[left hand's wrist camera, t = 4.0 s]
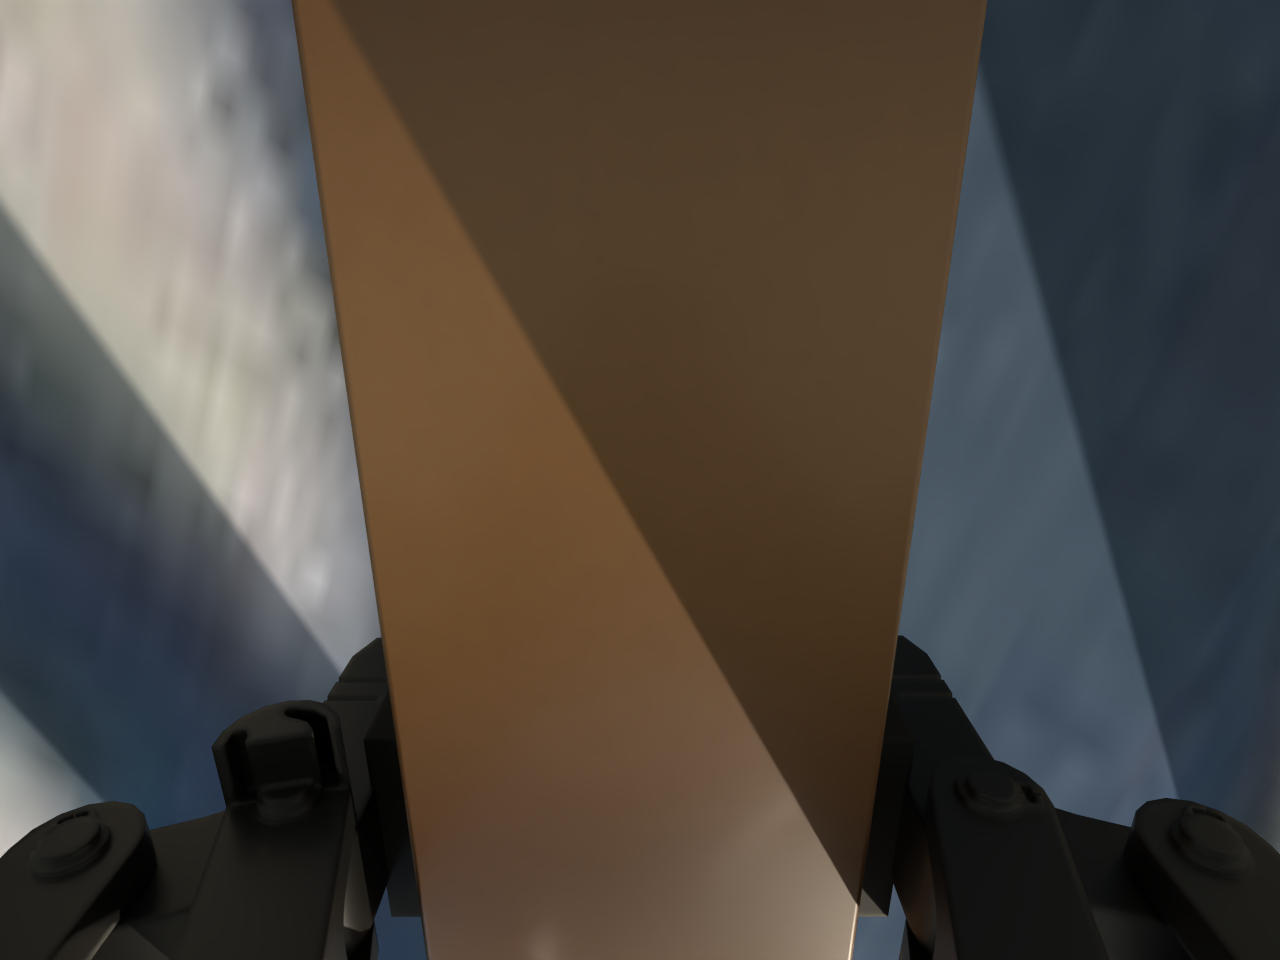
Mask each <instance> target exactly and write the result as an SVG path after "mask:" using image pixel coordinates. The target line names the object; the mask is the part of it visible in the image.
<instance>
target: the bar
mask: <svg viewBox="0 0 1280 960" xmlns="http://www.w3.org/2000/svg"><path fill="white" fill-rule="evenodd" d="M987 1H988V0H291V2H292V9H293V16H294V23H295V30H296V37H297V44H298V51H299V58H300V65H301V72H302V80H303V87H304V94H305V101H306V108H307V115H308V122H309V129H310V136H311V143H312V150H313V157H314V164H315V171H316V178H317V185H318V193H319V200H320V207H321V214H322V221H323V228H324V235H325V242H326V249H327V256H328V263H329V270H330V277H331V284H332V291H333V298H334V306H335V313H336V320H337V327H338V334H339V341H340V348H341V355H342V362H343V369H344V376H345V383H346V390H347V397H348V404H349V411H350V419H351V426H352V433H353V440H354V447H355V454H356V461H357V468H358V475H359V482H360V489H361V496H362V503H363V510H364V517H365V525H366V532H367V539H368V546H369V553H370V560H371V567H372V574H373V581H374V588H375V595H376V602H377V609H378V616H379V623H380V630H381V638H382V645H383V652H384V659H385V666H386V673H387V680H388V687H389V694H390V701H391V708H392V715H393V722H394V729H395V736H396V743H397V751H398V758H399V765H400V772H401V779H402V786H403V793H404V800H405V807H406V814H407V821H408V828H409V835H410V842H411V849H412V856H413V864H414V871H415V878H416V885H417V892H418V899H419V906H420V913H421V920H422V927H423V934H424V941H425V948H426V955H427V960H852V957H853V950H854V943H855V935H856V928H857V921H858V914H859V907H860V900H861V893H862V886H863V879H864V872H865V865H866V858H867V850H868V843H869V836H870V829H871V822H872V815H873V808H874V801H875V794H876V787H877V780H878V773H879V765H880V758H881V751H882V744H883V737H884V730H885V723H886V716H887V709H888V702H889V695H890V688H891V680H892V673H893V666H894V659H895V652H896V645H897V638H898V631H899V624H900V617H901V610H902V603H903V596H904V588H905V581H906V574H907V567H908V560H909V553H910V546H911V539H912V532H913V525H914V518H915V511H916V503H917V496H918V489H919V482H920V475H921V468H922V461H923V454H924V447H925V440H926V433H927V426H928V418H929V411H930V404H931V397H932V390H933V383H934V376H935V369H936V362H937V355H938V348H939V341H940V333H941V326H942V319H943V312H944V305H945V298H946V291H947V284H948V277H949V270H950V263H951V256H952V248H953V241H954V234H955V227H956V220H957V213H958V206H959V199H960V192H961V185H962V178H963V171H964V163H965V156H966V149H967V142H968V135H969V128H970V121H971V114H972V107H973V100H974V93H975V86H976V78H977V71H978V64H979V57H980V50H981V43H982V36H983V29H984V22H985V15H986V8H987Z"/></svg>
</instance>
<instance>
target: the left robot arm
mask: <svg viewBox="0 0 1280 960" xmlns="http://www.w3.org/2000/svg"><path fill="white" fill-rule="evenodd" d="M212 751H213V755H214V759H215V763H216V767H217V771H218V775H219V779H220V783H221V787H222V791H223V795H224V799H225V803H226V809H225V811H223V812H220V813H216V814H213V815H210V816H207V817H203V818H199V819H195V820H191V821H187V822H182V823H178V824H174V825H170V826H165V827H161V828H157V829H153V830H149V828H148V825H147V821H146V818H145V815H144V814H143V813H142V812H141V811H140V810H139V809H138V808H137V807H136V806H134V805H133V804H128V803H122V802H116V801H111V802H104V803H96V804H89V805H86V806H83V807H80V808H77V809H74V810H71V811H68V812H66V813H63V814H60V815H58V816H56V817H55V818H53V819H51V820H49V821H47V822H46V823H44V824H42V825H40V826H38V827H36V828H35V829H33V830H32V831H30V832H29V833H28V834H27V835H26V836H24V837H23V838H22V839H21V840H19V841H18V842H17V843H16V844H15V845H13V846H12V847H11V848H10V849H9V850H8V851H7V852H6V853H5V854H4V855H3V856H2V857H1V858H0V960H378V951H379V947H378V940H377V933H376V927H375V921H374V918H375V915H376V913H377V910H378V907H379V905H380V902H381V899H382V896H383V894H384V891H385V888H386V886H387V891H388V897H389V903H390V910H391V916H421V913H420V906H419V899H418V892H417V885H416V878H415V871H414V864H413V856H412V849H411V842H410V835H409V828H408V821H407V814H406V807H405V800H404V793H403V786H402V779H401V772H400V765H399V758H398V751H397V743H396V736H395V729H394V722H393V715H392V708H391V701H390V694H389V687H388V680H387V673H386V666H385V659H384V652H383V645H382V638H376V639H375V640H374V641H372V642H371V643H370V644H368V645H367V646H366V647H364V648H363V649H362V650H360V651H359V652H358V653H356V654H355V655H354V656H353V657H352V658H351V660H350V661H349V663H348V665H347V666H346V668H345V669H344V671H343V672H342V674H341V676H340V677H339V682H336V684H335V685H334V687H333V688H332V690H331V692H330V693H329V695H328V700H327V701H324V703H319V702H315V701H312V700H302V701H286V702H282V703H278V704H274V705H270V706H265V707H263V708H261V709H259V710H256V711H254V712H252V713H250V714H248V715H245V716H243V717H241V718H240V719H239V720H237V721H236V722H235V723H233V724H232V725H231V726H229V727H228V728H227V729H225V730H224V731H223V732H222V733H221V735H220V736H219V738H218V739H217V740H216V742H215V743H214V744H213V746H212ZM893 883H894V886H895V889H896V891H897V894H898V897H899V899H900V902H901V905H902V908H903V910H904V913H905V916H906V921H905V927H904V933H903V939H902V945H901V950H900V956H899V960H1280V854H1279V853H1278V852H1277V851H1276V850H1275V849H1274V848H1273V847H1272V846H1271V845H1270V844H1269V843H1268V842H1266V841H1265V840H1264V839H1263V838H1261V837H1260V836H1259V835H1258V834H1257V833H1255V832H1254V831H1253V830H1252V829H1250V828H1249V827H1248V826H1246V825H1244V824H1243V823H1241V822H1239V821H1237V820H1235V819H1234V818H1232V817H1230V816H1228V815H1226V814H1224V813H1223V812H1221V811H1218V810H1215V809H1213V808H1210V807H1207V806H1204V805H1201V804H1198V803H1195V802H1192V801H1185V800H1178V799H1170V798H1164V799H1158V800H1152V801H1147V802H1146V803H1145V804H1143V805H1142V806H1141V807H1140V808H1139V809H1138V810H1137V811H1136V813H1135V816H1134V819H1133V823H1132V826H1131V827H1127V826H1123V825H1119V824H1115V823H1110V822H1106V821H1102V820H1098V819H1093V818H1089V817H1085V816H1081V815H1077V814H1073V813H1070V812H1067V811H1064V810H1060V809H1057V808H1055V807H1054V805H1053V804H1052V802H1051V801H1050V799H1049V797H1048V796H1047V794H1046V793H1045V791H1044V789H1043V788H1042V787H1040V786H1039V785H1038V784H1037V783H1036V782H1034V781H1033V780H1032V779H1031V778H1030V777H1029V776H1027V775H1026V774H1025V773H1023V772H1021V771H1019V770H1017V769H1015V768H1013V767H1011V766H1009V765H1007V764H1005V763H1003V762H1000V761H996V760H994V759H993V757H992V756H991V754H990V752H989V751H988V749H987V748H986V746H985V744H984V743H983V741H982V740H981V738H980V737H979V735H978V733H977V732H976V730H975V729H974V727H973V726H972V724H971V722H970V721H969V719H968V718H967V716H966V714H965V713H964V711H963V710H962V708H961V707H960V705H959V703H958V702H957V700H956V699H955V698H953V697H952V692H951V691H950V689H949V688H948V686H947V684H946V683H945V681H944V680H941V675H940V673H939V672H938V670H937V669H936V667H935V665H934V664H933V662H932V661H931V659H930V658H929V656H928V654H927V653H925V652H924V651H923V650H921V649H920V648H919V647H917V646H916V645H915V644H913V643H912V642H911V641H909V640H908V639H907V638H905V637H904V636H898V638H897V645H896V652H895V659H894V666H893V673H892V680H891V688H890V695H889V702H888V709H887V716H886V723H885V730H884V737H883V744H882V751H881V758H880V765H879V773H878V780H877V787H876V794H875V801H874V808H873V815H872V822H871V829H870V836H869V843H868V850H867V858H866V865H865V872H864V879H863V886H862V893H861V900H860V907H859V914H858V916H888V913H889V907H890V900H891V894H892V888H893Z"/></svg>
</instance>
